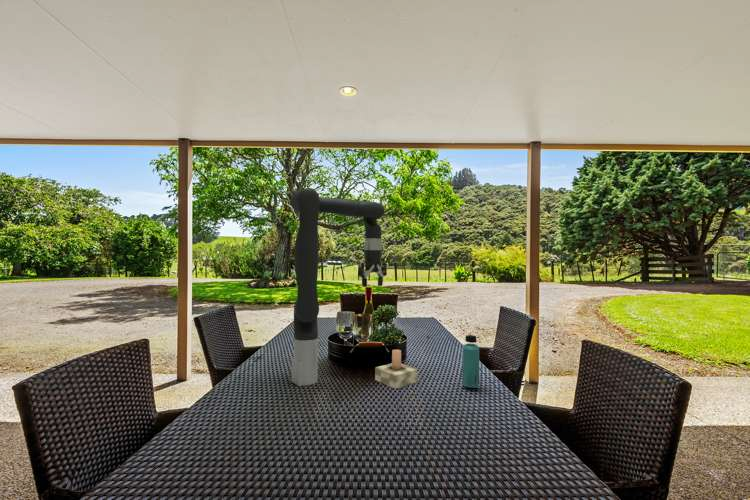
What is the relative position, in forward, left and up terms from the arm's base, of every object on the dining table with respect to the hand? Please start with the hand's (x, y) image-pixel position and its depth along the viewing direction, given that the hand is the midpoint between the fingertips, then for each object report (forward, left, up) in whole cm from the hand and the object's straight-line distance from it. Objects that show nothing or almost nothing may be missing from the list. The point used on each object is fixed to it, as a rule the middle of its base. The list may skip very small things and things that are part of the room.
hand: (372, 286), depth 161 cm
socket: (-1, -17, -36) cm, 40 cm away
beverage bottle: (+16, -40, -36) cm, 56 cm away
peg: (-1, -17, -36) cm, 40 cm away
